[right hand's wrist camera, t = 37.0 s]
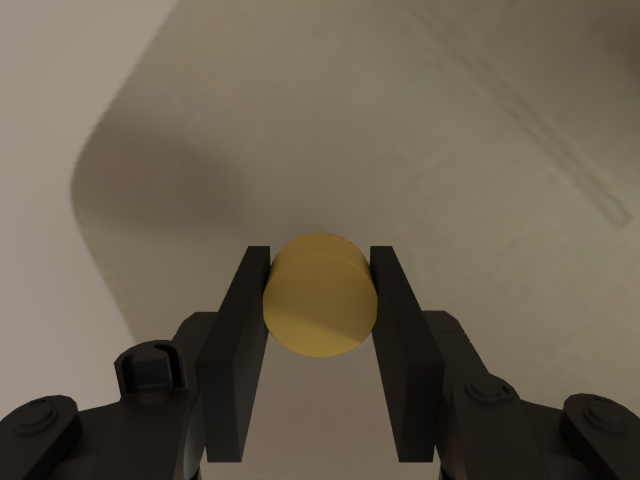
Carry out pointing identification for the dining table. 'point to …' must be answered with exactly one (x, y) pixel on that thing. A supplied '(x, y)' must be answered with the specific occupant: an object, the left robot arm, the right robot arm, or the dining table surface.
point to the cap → (320, 296)
